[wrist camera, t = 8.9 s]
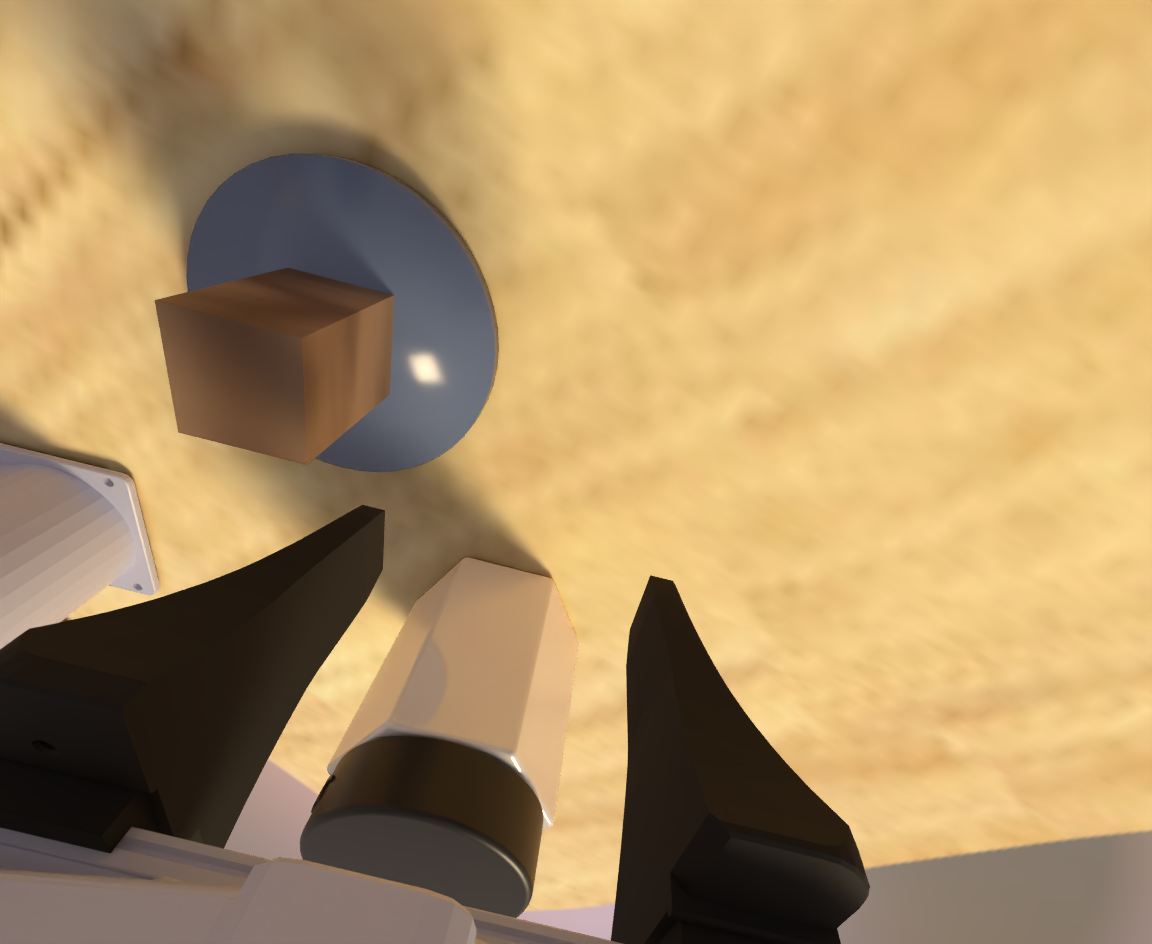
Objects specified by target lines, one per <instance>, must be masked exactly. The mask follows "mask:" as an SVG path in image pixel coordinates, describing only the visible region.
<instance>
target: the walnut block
mask: <svg viewBox="0 0 1152 944" xmlns="http://www.w3.org/2000/svg"><path fill="white" fill-rule="evenodd" d="M155 304H156V310H157V316H158V321H159V327H160V332H161V338H162V343H163V349H164V355H165V360H166V366H167V371H168V377H169V382H170V388H171V394H172V399H173V405H174V410H175V416H176V421H177V427H178V432H179V433H183V434H187V435H191V436H195V437H199V438H203V439H207V440H211V441H215V442H219V443H223V444H227V445H231V446H235V447H239V448H243V449H247V450H250V451H254V452H258V453H262V454H266V455H270V456H274V457H278V458H282V459H286V460H290V461H294V462H298V463H302V464H306V465H307V464H309V463H310V462H311V461H312V460H313V459H314V458H316V457H317V456H318V455H319V454H320V453H322V452H323V451H324V450H325V449H326V448H327V447H329V446H330V445H331V444H332V443H333V442H334V441H336V440H337V439H338V438H339V437H340V436H342V435H343V434H344V433H345V432H346V431H347V430H349V429H350V428H351V427H352V426H353V425H354V424H356V423H357V422H358V421H359V420H360V419H362V418H363V417H364V416H365V415H366V414H367V413H369V412H370V411H371V410H372V409H373V408H374V407H376V406H377V405H378V404H379V403H380V402H382V401H383V400H384V399H385V398H386V397H387V396H389V395H390V374H391V353H392V332H393V311H394V295H392V294H388V293H384V292H380V291H376V290H373V289H369V288H365V287H361V286H357V285H353V284H349V283H346V282H342V281H338V280H334V279H330V278H326V277H322V276H318V275H315V274H311V273H307V272H303V271H299V270H295V269H291V268H284V269H280V270H276V271H272V272H267V273H263V274H259V275H255V276H251V277H247V278H243V279H239V280H235V281H231V282H227V283H223V284H219V285H215V286H211V287H207V288H203V289H199V290H195V291H190V292H186V293H182V294H178V295H174V296H170V297H166V298H162V299H158V300H155Z"/></svg>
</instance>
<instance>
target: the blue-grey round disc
mask: <svg viewBox="0 0 1152 944" xmlns="http://www.w3.org/2000/svg"><path fill="white" fill-rule="evenodd" d="M284 268H291V269H295V270H299V271H303V272H307V273H311V274H315V275H318V276H322V277H326V278H330V279H334V280H338V281H342V282H346V283H349V284H353V285H357V286H361V287H365V288H369V289H373V290H376V291H380V292H384V293H388V294H392V295H394V311H393V332H392V353H391V374H390V395H389V396H387V397H386V398H385V399H384V400H383V401H382V402H380V403H379V404H378V405H377V406H376V407H374V408H373V409H372V410H371V411H370V412H369V413H367V414H366V415H365V416H364V417H363V418H362V419H360V420H359V421H358V422H357V423H356V424H354V425H353V426H352V427H351V428H350V429H349V430H347V431H346V432H345V433H344V434H343V435H342V436H340V437H339V438H338V439H337V440H336V441H334V442H333V443H332V444H331V445H330V446H329V447H327V448H326V449H325V450H324V451H323V452H322V453H320V454H319V455H318V456H317V457H316V459H319V460H321V461H323V462H326V463H329V464H333V465H336V466H339V467H343V468H348V469H353V470H359V471H371V472H386V471H397V470H403V469H409V468H412V467H415V466H418V465H421V464H424V463H427V462H429V461H431V460H433V459H435V458H437V457H439V456H440V455H442V454H443V453H445V452H446V451H448V450H449V449H451V448H452V447H453V446H454V445H455V444H456V443H457V442H458V441H459V440H461V439H462V438H463V437H464V436H465V434H466V433H467V432H468V430H469V429H470V428H471V426H472V425H473V424H474V423H475V421H476V420H477V418H478V417H479V415H480V413H481V412H482V410H483V408H484V406H485V404H486V403H487V401H488V398H489V395H490V393H491V390H492V387H493V384H494V380H495V375H496V371H497V365H498V352H499V342H498V327H497V321H496V316H495V310H494V306H493V302H492V299H491V296H490V293H489V289H488V286H487V284H486V281H485V279H484V277H483V275H482V272H481V270H480V268H479V266H478V264H477V262H476V260H475V259H474V257H473V255H472V253H471V252H470V250H469V248H468V247H467V245H466V243H465V242H464V241H463V239H462V238H461V237H460V235H459V234H458V233H457V231H456V230H455V229H454V227H453V226H452V225H451V224H450V223H449V221H448V220H447V219H446V218H445V217H444V216H443V215H442V214H441V213H440V212H439V211H438V210H437V209H436V208H435V207H434V206H433V205H432V204H431V203H430V202H428V201H427V200H426V199H425V198H424V197H422V196H421V195H420V194H419V193H418V192H416V191H415V190H414V189H412V188H411V187H409V186H408V185H406V184H405V183H403V182H401V181H400V180H398V179H397V178H395V177H393V176H391V175H389V174H387V173H385V172H383V171H381V170H379V169H377V168H375V167H373V166H370V165H367V164H363V163H360V162H357V161H354V160H351V159H346V158H340V157H335V156H329V155H317V154H290V155H283V156H276V157H271V158H268V159H265V160H262V161H259V162H256V163H253V164H251V165H249V166H247V167H245V168H244V169H242V170H240V171H238V172H237V173H235V174H233V175H232V176H231V177H230V178H229V179H228V180H226V181H225V182H224V183H223V184H222V185H220V186H219V187H218V189H217V190H216V191H215V192H214V194H213V195H212V196H211V197H210V199H209V200H208V201H207V203H206V204H205V206H204V208H203V210H202V212H201V213H200V215H199V217H198V219H197V222H196V225H195V228H194V230H193V233H192V236H191V241H190V246H189V252H188V258H187V285H188V292H190V291H195V290H199V289H203V288H207V287H211V286H215V285H219V284H223V283H227V282H231V281H235V280H239V279H243V278H247V277H251V276H255V275H259V274H263V273H267V272H272V271H276V270H280V269H284Z"/></svg>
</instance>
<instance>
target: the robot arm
mask: <svg viewBox="0 0 1152 944" xmlns="http://www.w3.org/2000/svg"><path fill="white" fill-rule="evenodd" d="M384 522H385V510H381V509H377V508H373V507H369V506H365V505H362V506H360V507H358V508H356V509H354V510H352V511H351V512H349V513H347V514H345V515H344V516H342V517H340V518H338V519H337V520H335V521H333V522H331V523H330V524H328V525H326V526H324V527H322V528H321V529H319V530H317V531H315V532H314V533H312V534H310V535H308V536H306V537H304V538H303V539H301V540H299V541H297V542H295V543H293V544H291V545H289V546H287V547H285V548H283V549H281V550H279V551H277V552H275V553H273V554H271V555H269V556H267V557H265V558H263V559H261V560H259V561H257V562H255V563H252V564H250V565H248V566H246V567H243V568H241V569H239V570H236V571H234V572H231V573H229V574H226V575H224V576H221V577H219V578H216V579H214V580H211V581H208V582H206V583H203V584H200V585H197V586H194V587H191V588H188V589H185V590H182V591H179V592H176V593H173V594H170V595H167V596H164V597H161V598H157V599H154V600H150V601H147V602H143V603H140V604H136V605H133V606H129V607H125V608H121V609H117V610H114V611H110V612H106V613H101V614H97V615H93V616H88V617H84V618H79V619H74V620H69V621H65V622H61V621H62V620H64V619H65V618H66V617H67V616H69V615H70V614H71V613H73V612H74V611H75V610H77V609H78V608H79V607H81V606H82V605H83V604H85V603H86V602H87V601H89V600H90V599H91V598H93V597H94V596H95V595H96V594H98V593H99V592H100V591H102V590H103V589H104V588H106V587H107V586H108V585H109V586H113V587H117V588H121V589H125V590H129V591H134V592H138V593H142V594H146V595H155V594H156V593H157V592H158V591H159V590H160V584H159V580H158V576H157V572H156V568H155V564H154V560H153V556H152V552H151V548H150V544H149V540H148V536H147V532H146V528H145V524H144V520H143V516H142V512H141V508H140V504H139V500H138V496H137V492H136V488H135V484H134V482H133V480H132V478H131V477H130V476H128V475H127V474H124V473H121V472H117V471H113V470H109V469H105V468H101V467H96V466H92V465H88V464H84V463H80V462H76V461H72V460H68V459H64V458H60V457H56V456H52V455H47V454H43V453H39V452H35V451H31V450H27V449H23V448H19V447H15V446H11V445H7V444H2V443H0V944H841V942H840V939H839V935H838V931H837V928H838V927H839V926H840V925H841V924H842V923H843V922H844V921H846V920H847V919H848V918H849V917H850V916H851V915H852V914H854V913H855V912H856V911H857V910H858V909H859V908H860V907H861V905H862V904H863V903H864V902H865V900H866V899H867V897H868V894H869V888H870V885H869V882H868V879H867V876H866V873H865V870H864V867H863V863H862V860H861V857H860V854H859V850H858V848H857V845H856V843H855V840H854V838H853V835H852V833H851V830H850V828H849V825H847V824H846V823H845V822H844V821H843V820H842V819H841V818H840V817H839V816H838V815H837V814H836V813H835V812H834V811H833V810H832V809H831V808H830V807H829V806H828V805H827V804H826V803H825V802H824V801H823V800H821V799H820V798H819V797H818V796H817V795H816V794H815V793H814V792H813V791H812V790H811V789H810V788H809V787H808V786H807V785H806V784H805V783H804V782H803V781H802V779H801V778H800V777H799V776H798V775H797V774H796V773H795V772H794V771H793V770H792V769H791V768H790V767H789V765H788V764H787V763H786V762H785V761H784V760H783V759H782V758H781V756H780V755H779V754H778V753H777V752H776V751H775V750H774V748H773V747H772V746H771V745H770V744H769V742H768V741H767V740H766V739H765V737H764V736H763V735H762V734H761V732H760V731H759V730H758V729H757V728H756V726H755V725H754V724H753V722H752V721H751V720H750V718H749V717H748V716H747V714H746V713H745V712H744V710H743V709H742V707H741V706H740V705H739V703H738V702H737V700H736V699H735V697H734V696H733V695H732V693H731V692H730V690H729V688H728V687H727V685H726V684H725V682H724V681H723V679H722V677H721V676H720V674H719V672H718V670H717V669H716V667H715V665H714V664H713V662H712V660H711V658H710V656H709V655H708V653H707V651H706V649H705V647H704V645H703V643H702V641H701V639H700V637H699V636H698V634H697V632H696V630H695V628H694V626H693V623H692V621H691V619H690V617H689V615H688V613H687V611H686V608H685V606H684V604H683V602H682V599H681V597H680V595H679V592H678V590H677V588H676V585H675V584H674V582H673V581H671V580H667V579H663V578H659V577H655V576H650V578H649V581H648V583H647V586H646V589H645V591H644V594H643V596H642V599H641V602H640V604H639V607H638V610H637V612H636V615H635V617H634V620H633V623H632V625H631V628H630V634H629V643H628V653H627V664H626V675H627V722H628V768H627V781H626V795H625V808H624V819H623V831H622V842H621V853H620V863H619V872H618V882H617V892H616V901H615V910H614V919H613V927H612V936H611V941H609V940H605V939H601V938H597V937H593V936H589V935H584V934H580V933H576V932H571V931H568V930H563V929H559V928H555V927H551V926H547V925H542V924H538V923H534V922H530V921H526V920H521V919H517V918H513V917H509V916H505V915H500V914H496V913H492V912H488V911H484V910H479V909H475V908H471V907H467V906H463V905H461V904H459V903H458V902H457V901H455V900H454V899H453V898H450V897H447V896H445V895H442V894H439V893H436V892H434V891H431V890H428V889H424V888H420V887H416V886H411V885H407V884H403V883H399V882H395V881H390V880H386V879H382V878H378V877H374V876H369V875H365V874H361V873H357V872H353V871H348V870H344V869H340V868H336V867H332V866H327V865H323V864H319V863H315V862H311V861H306V860H299V859H290V858H281V857H279V858H276V859H272V860H269V859H265V858H261V857H256V856H252V855H248V854H244V853H240V852H236V851H231V850H227V849H224V847H225V845H226V842H227V840H228V838H229V836H230V834H231V832H232V830H233V828H234V826H235V823H236V822H237V820H238V817H239V815H240V813H241V811H242V809H243V807H244V805H245V803H246V801H247V799H248V797H249V795H250V793H251V791H252V789H253V787H254V785H255V783H256V781H257V779H258V777H259V775H260V773H261V771H262V769H263V767H264V765H265V764H266V762H267V760H268V758H269V756H270V754H271V752H272V750H273V748H274V747H275V745H276V743H277V741H278V739H279V737H280V735H281V734H282V732H283V730H284V728H285V726H286V724H287V722H288V721H289V719H290V717H291V715H292V713H293V712H294V710H295V708H296V706H297V704H298V703H299V701H300V699H301V697H302V696H303V694H304V692H305V690H306V688H307V687H308V685H309V684H310V682H311V681H312V679H313V677H314V676H315V674H316V673H317V671H318V670H319V668H320V667H321V666H322V664H323V663H324V661H325V660H326V658H327V657H328V656H329V654H330V653H331V651H332V650H333V648H334V647H335V646H336V644H337V643H338V641H339V640H340V638H341V637H342V636H343V634H344V633H345V631H346V630H347V628H348V627H349V626H350V624H351V623H352V621H353V620H354V618H355V617H356V615H357V614H358V613H359V611H360V610H361V608H362V607H363V605H364V604H365V602H366V600H367V599H368V597H369V595H370V593H371V591H372V589H373V587H374V585H375V583H376V581H377V579H378V577H379V575H380V574H381V572H382V570H383V549H384Z"/></svg>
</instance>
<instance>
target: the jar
mask: <svg viewBox="0 0 1152 944" xmlns="http://www.w3.org/2000/svg"><path fill="white" fill-rule="evenodd" d="M578 645H579V642H578V639H577V637H576V634H575V632H574V629H573V627H572V624H571V622H570V619H569V617H568V614H567V612H566V610H565V607H564V605H563V602H562V600H561V597H560V595H559V592H558V590H557V588H556V585H555V583H554V581H553V579H551V578H548V577H544V576H540V575H536V574H533V573H529V572H525V571H521V570H517V569H513V568H509V567H505V566H501V565H497V564H493V563H489V562H485V561H481V560H477V559H473V558H469V557H466V558H463V559H462V560H461V561H460V562H459V563H458V564H457V565H456V566H455V567H453V568H452V569H451V570H450V571H449V572H448V573H447V574H446V575H445V576H444V577H442V578H441V579H440V580H439V581H438V582H437V583H436V584H435V585H434V586H433V587H431V588H430V589H429V590H428V591H427V592H426V593H425V594H424V595H423V596H422V597H420V598H419V599H418V600H417V601H416V602H415V604H414V606H413V608H412V610H411V612H410V614H409V615H408V617H407V619H406V621H405V623H404V625H403V627H402V629H401V630H400V632H399V634H398V636H397V638H396V640H395V642H394V643H393V645H392V647H391V649H390V651H389V653H388V655H387V656H386V658H385V660H384V662H383V664H382V666H381V668H380V670H379V671H378V673H377V675H376V677H375V679H374V681H373V683H372V684H371V686H370V688H369V690H368V692H367V694H366V696H365V697H364V699H363V701H362V703H361V705H360V707H359V709H358V711H357V712H356V714H355V716H354V718H353V720H352V722H351V724H350V725H349V727H348V729H347V731H346V733H345V735H344V737H343V738H342V740H341V742H340V744H339V746H338V748H337V750H336V752H335V753H334V755H333V757H332V759H331V761H330V763H329V765H328V767H327V771H328V773H329V774H330V777H329V778H328V780H327V781H326V783H325V785H324V786H323V788H322V790H321V792H320V794H319V796H318V798H317V800H316V802H315V803H314V805H313V808H312V811H311V813H312V814H311V816H310V818H309V820H308V822H307V824H306V826H305V828H304V830H303V832H302V835H301V839H300V852H301V856H302V858H303V860H306V861H311V862H315V863H319V864H323V865H327V866H332V867H336V868H340V869H344V870H348V871H353V872H357V873H361V874H365V875H369V876H374V877H378V878H382V879H386V880H390V881H395V882H399V883H403V884H407V885H411V886H416V887H420V888H424V889H428V890H431V891H434V892H436V893H439V894H442V895H445V896H447V897H450V898H453V899H454V900H455V901H457V902H458V903H459V904H461V905H463V906H467V907H471V908H475V909H479V910H484V911H488V912H492V913H496V914H500V915H505V916H509V917H513V918H517V917H518V916H519V915H520V914H521V913H522V912H523V911H524V910H525V909H526V907H527V906H528V905H529V902H530V900H531V897H532V893H533V886H534V880H535V873H536V867H537V860H538V854H539V847H540V841H541V834H542V831H543V830H545V829H548V828H550V827H551V826H552V825H553V824H554V820H555V813H556V806H557V798H558V791H559V784H560V776H561V769H562V761H563V754H564V747H565V740H566V732H567V725H568V718H569V710H570V703H571V696H572V689H573V681H574V674H575V667H576V659H577V652H578Z"/></svg>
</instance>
